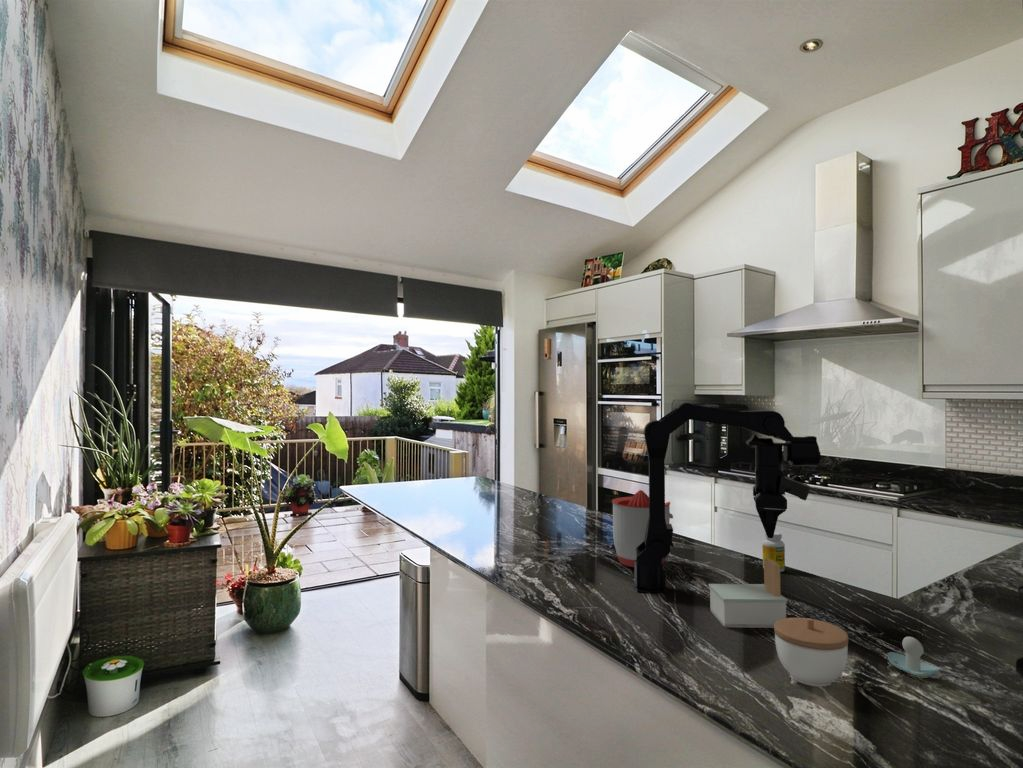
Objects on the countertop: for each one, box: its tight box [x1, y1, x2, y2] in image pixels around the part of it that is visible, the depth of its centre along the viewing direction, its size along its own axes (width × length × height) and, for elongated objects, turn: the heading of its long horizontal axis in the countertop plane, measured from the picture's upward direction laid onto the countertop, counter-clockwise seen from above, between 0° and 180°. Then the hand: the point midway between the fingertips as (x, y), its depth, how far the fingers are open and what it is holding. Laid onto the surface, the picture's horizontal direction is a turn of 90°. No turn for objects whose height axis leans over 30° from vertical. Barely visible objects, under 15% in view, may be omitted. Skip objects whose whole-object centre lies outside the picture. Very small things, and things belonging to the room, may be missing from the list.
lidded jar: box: [773, 617, 849, 688], centre depth 95 cm, size 11×11×9 cm
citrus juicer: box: [611, 489, 674, 568], centre depth 161 cm, size 16×17×20 cm
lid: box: [708, 559, 788, 604], centre depth 120 cm, size 12×9×8 cm
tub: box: [709, 587, 787, 629], centre depth 120 cm, size 12×9×5 cm
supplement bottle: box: [761, 531, 786, 573], centre depth 155 cm, size 5×5×10 cm
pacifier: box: [887, 636, 942, 679], centre depth 97 cm, size 7×6×6 cm
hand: (768, 533), depth 135 cm, fingers open, 9 cm apart
